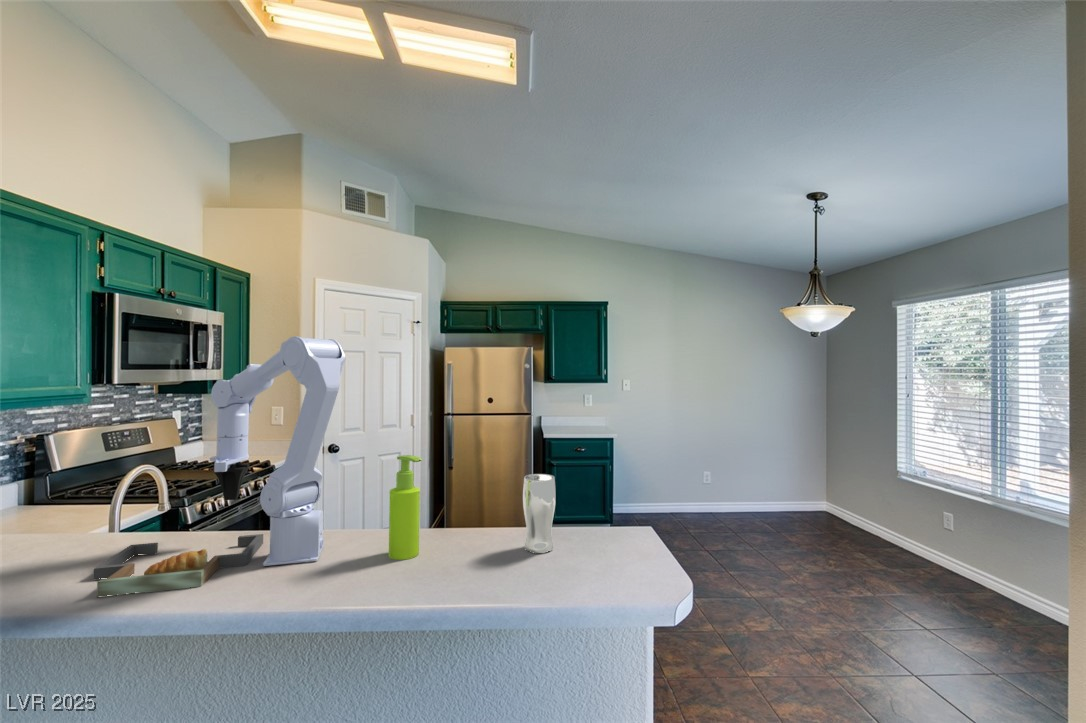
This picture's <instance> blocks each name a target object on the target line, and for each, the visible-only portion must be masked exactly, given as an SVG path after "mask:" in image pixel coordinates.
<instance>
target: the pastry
mask: <svg viewBox="0 0 1086 723" xmlns="http://www.w3.org/2000/svg"><path fill="white" fill-rule="evenodd" d="M209 561H210V559H209V557H208V549H207V548H202V549H200V550H192V551H191V550H189V551H183V552H181V553H179V554H178V555H172V556H171V557H169V558H168V557H167V558H165V559H162V560H161V561H160V562H156V563H154V564H151V565H150V566H149V567H148V568H147V569H146V570H145V571H144V572H143V574H144V575H152V574H162V573H172V572H182V571H192V570H201V569H202V568H203V567H204V566H205V565H206V564H207V563H208V562H209Z"/></svg>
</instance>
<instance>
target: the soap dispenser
mask: <svg viewBox="0 0 1086 723" xmlns="http://www.w3.org/2000/svg"><path fill="white" fill-rule="evenodd" d="M396 459H397V460H399V461H400V470H398V471H397V472H396V481H395V482H396V486H395V487H393V488H391V489H390V490H389V515H388V516H389V518H388V524H389V526H388V527H389V528H388V558H390V559H391V560H394V561H395V560H396V561H406V560H410V559H413V558H416V557H417V556H418V555H419V554H420V499H421V498H420V496H421V495H420V494H421V490H420V487H418V486H414V482H415V480H414V479H415V478H414V477H415V476H414V474H415V473H414V471H413V470H411V469H410V462H412V463H418V462H422V461H423V458H421V457H419V456H416V455H413V454H411V455H409V454H407V455H406V454H403V455H398V456H397V457H396Z"/></svg>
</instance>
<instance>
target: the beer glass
mask: <svg viewBox="0 0 1086 723" xmlns="http://www.w3.org/2000/svg"><path fill="white" fill-rule="evenodd" d="M555 478H556V477H555V475H553V474H547V473H531V474H526V475H525V476H524V477H523V488H522V507H523V508H522V509H523V515H524V520H525V525H526V526H525V527H526V528H525V530H526V535H525V536H526V537H525V540H524V550H525V549H526V550H528V551H531V552H534V553H533V554H536V553H542V554H545V553H544V552H548V551H550V552H552V551H553V550H554V542H553V537H552V536H553V535H552V534H553V533H552V530H553V529H552V528H553V527H552V526H553V520H554V515H555V509H556V481H555ZM552 549H553V550H552ZM526 550H525V551H526ZM551 550H552V551H551ZM528 551H527V552H528ZM548 553H549V552H548Z"/></svg>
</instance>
